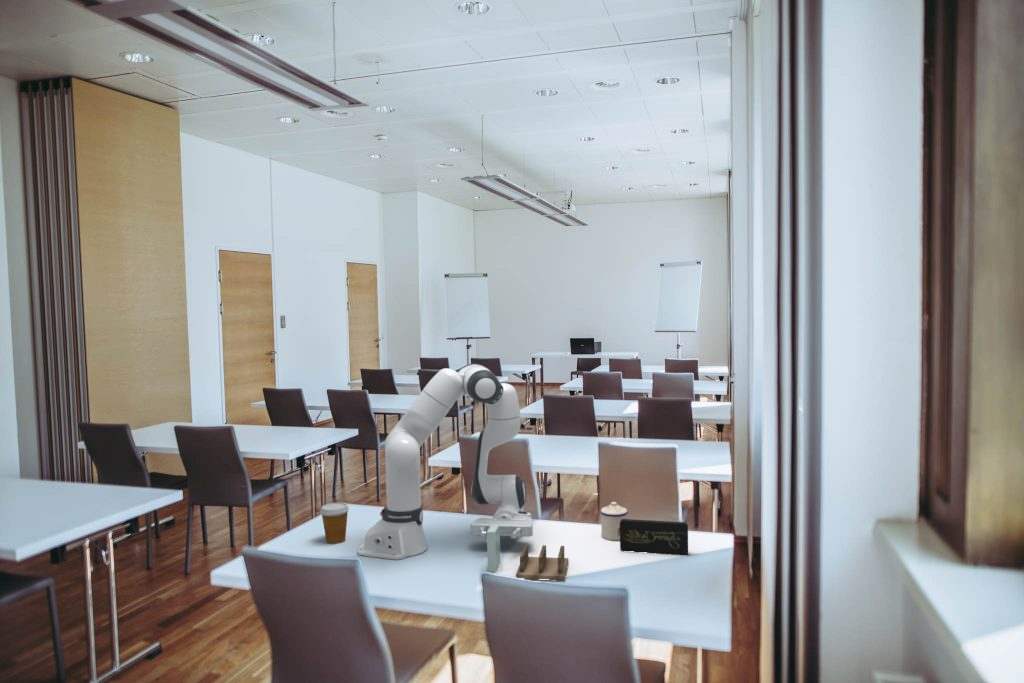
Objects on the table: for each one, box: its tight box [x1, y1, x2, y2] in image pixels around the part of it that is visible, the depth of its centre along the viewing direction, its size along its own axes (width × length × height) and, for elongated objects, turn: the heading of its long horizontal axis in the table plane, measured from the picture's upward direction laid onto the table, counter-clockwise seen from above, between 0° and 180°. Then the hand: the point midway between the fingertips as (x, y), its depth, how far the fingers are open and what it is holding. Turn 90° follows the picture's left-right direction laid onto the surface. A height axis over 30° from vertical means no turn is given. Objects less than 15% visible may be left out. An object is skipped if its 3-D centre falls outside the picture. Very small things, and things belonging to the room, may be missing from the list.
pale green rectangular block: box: [486, 524, 501, 573], centre depth 203 cm, size 2×7×12 cm, turn 170°
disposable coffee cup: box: [319, 502, 350, 545], centre depth 231 cm, size 10×10×12 cm
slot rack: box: [515, 544, 569, 583], centre depth 199 cm, size 14×14×6 cm
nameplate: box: [619, 518, 689, 556], centre depth 212 cm, size 21×2×10 cm, turn 75°
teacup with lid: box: [600, 501, 629, 541], centre depth 228 cm, size 12×9×12 cm
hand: (498, 535), depth 210 cm, fingers open, 8 cm apart
